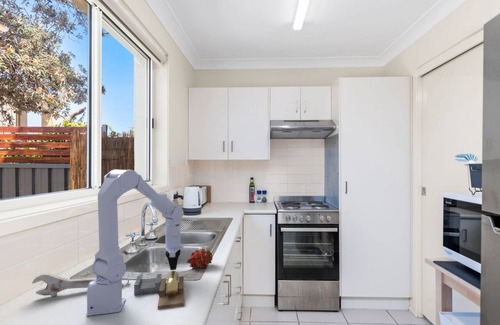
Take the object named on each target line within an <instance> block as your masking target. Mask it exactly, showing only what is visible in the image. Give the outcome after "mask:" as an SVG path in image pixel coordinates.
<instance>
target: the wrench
mask: <svg viewBox="0 0 500 325" xmlns="http://www.w3.org/2000/svg"><path fill="white" fill-rule="evenodd" d="M94 280H96V277H92V278H91V277H90V278H88V277H87V278H73V279H72V278H71V279H70V278H65V277H61V276H58V275H56V274H53V273H50V272H44V273H40V274H39V275H37V276H36V277H35V278H34V279H33V280H32V282H31V284H32V285H34V284H36V283H38V282H43V283H45V284H46V286H45V287H43V288H40V289H38V290H36V291H35V293H36V295H40V296H44V297H46V296H50V298H53V297H57V296H58V294H59V293H60V292H62V291H65V290H68V289H69V290H70V289H88V285H89V283H90V282H91V281H94ZM123 280H127V281H126V282H125V283H123V282H122V287H124V286H127V285H128V284H129V283H130V279H129V277H128V276H123V277H122V281H123Z"/></svg>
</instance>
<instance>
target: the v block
mask: <svg viewBox="0 0 500 325" xmlns="http://www.w3.org/2000/svg"><path fill="white" fill-rule="evenodd" d="M161 279H162V273H157V274H156V277H154V278H152V277H151V278H144V279H143V275H137V277H136V279H135V282H134V284H133V296H139V295H148V294H155V293H158V294H159V289H160V284H161Z"/></svg>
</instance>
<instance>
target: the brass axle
mask: <svg viewBox="0 0 500 325" xmlns="http://www.w3.org/2000/svg"><path fill="white" fill-rule="evenodd" d="M179 277H180V276H179V273H178V271H176V270H170V271H169V273H168V274H167V278H166V283H167V285H166V294H167V296H169V297H173V296H175V295H176V294H177V293H178V282H179Z"/></svg>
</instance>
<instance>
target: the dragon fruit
mask: <svg viewBox="0 0 500 325" xmlns="http://www.w3.org/2000/svg"><path fill="white" fill-rule="evenodd" d="M213 256H214V254H213V253H212V252H211V251H210V250H209V249H208V250H207V249H204V248H203V247H202V249H196V250H195V251H194V252H192V253H191V254H190V257H189V258H188V259H187V261H186V264H189V267H190V268H193V269H196V268H195V267H198V268H200V269H201V268H202V269H204V268H207V266H208V265H209V264H212V261H213Z"/></svg>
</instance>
